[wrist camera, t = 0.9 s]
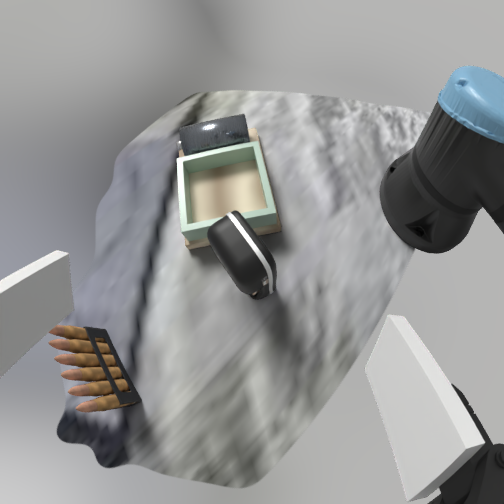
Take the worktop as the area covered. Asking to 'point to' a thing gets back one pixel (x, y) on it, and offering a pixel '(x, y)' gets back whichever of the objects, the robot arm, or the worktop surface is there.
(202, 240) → the mint green tray
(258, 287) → the battery charger
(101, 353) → the ammunition clip
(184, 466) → the worktop surface
